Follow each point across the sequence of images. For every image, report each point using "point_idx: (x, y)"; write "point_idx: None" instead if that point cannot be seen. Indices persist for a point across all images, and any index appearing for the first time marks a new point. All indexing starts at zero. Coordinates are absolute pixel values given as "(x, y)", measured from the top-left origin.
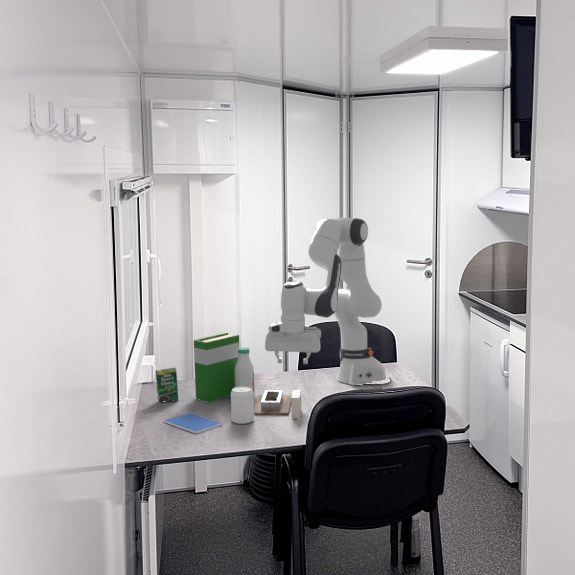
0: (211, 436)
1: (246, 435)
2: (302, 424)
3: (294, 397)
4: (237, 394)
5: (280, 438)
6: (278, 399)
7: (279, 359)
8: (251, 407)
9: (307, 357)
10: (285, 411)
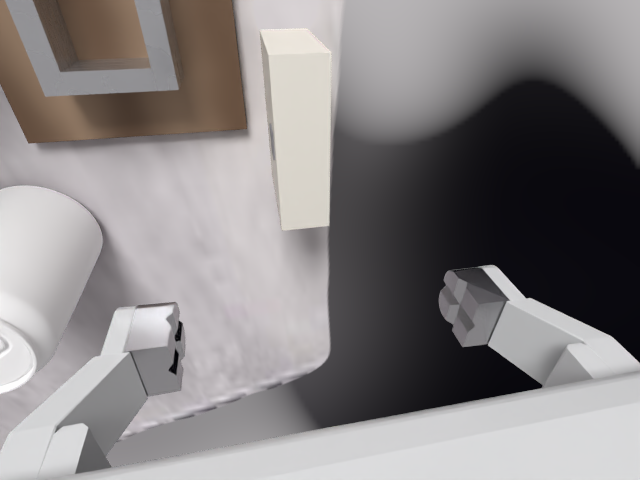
0: None
1: None
2: (325, 230)
3: (300, 222)
4: None
5: (264, 343)
6: (151, 25)
7: (151, 386)
8: (81, 293)
9: (525, 365)
10: (226, 104)
